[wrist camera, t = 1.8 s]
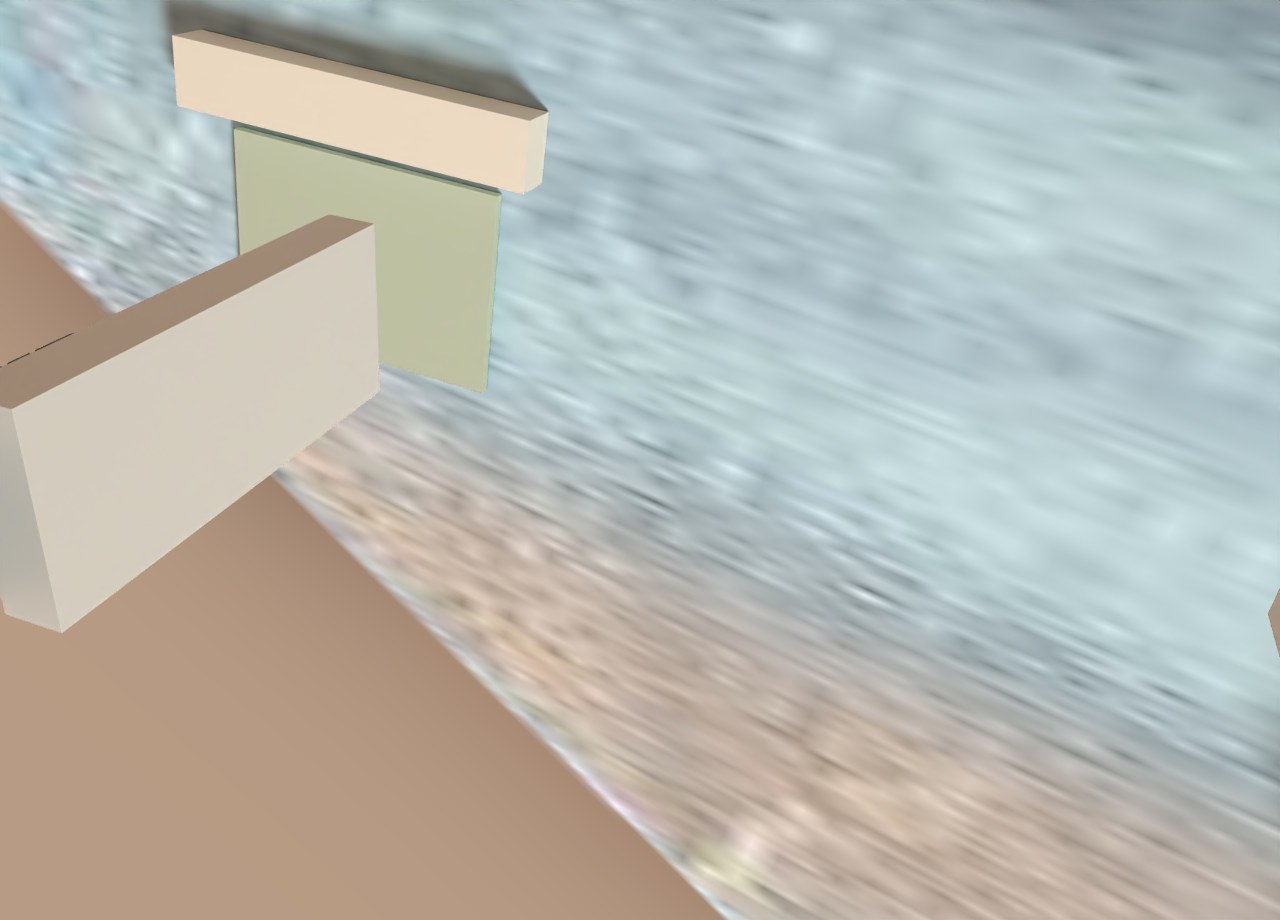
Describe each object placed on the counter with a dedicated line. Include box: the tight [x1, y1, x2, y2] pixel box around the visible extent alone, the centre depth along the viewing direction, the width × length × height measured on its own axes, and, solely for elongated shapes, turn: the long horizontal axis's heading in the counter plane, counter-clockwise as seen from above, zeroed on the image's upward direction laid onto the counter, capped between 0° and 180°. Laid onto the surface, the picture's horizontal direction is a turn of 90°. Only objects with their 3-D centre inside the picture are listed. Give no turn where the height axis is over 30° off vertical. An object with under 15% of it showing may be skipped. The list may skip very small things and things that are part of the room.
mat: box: [234, 127, 502, 393], centre depth 43 cm, size 8×11×1 cm
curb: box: [172, 30, 549, 194], centre depth 39 cm, size 2×14×2 cm, turn 81°
